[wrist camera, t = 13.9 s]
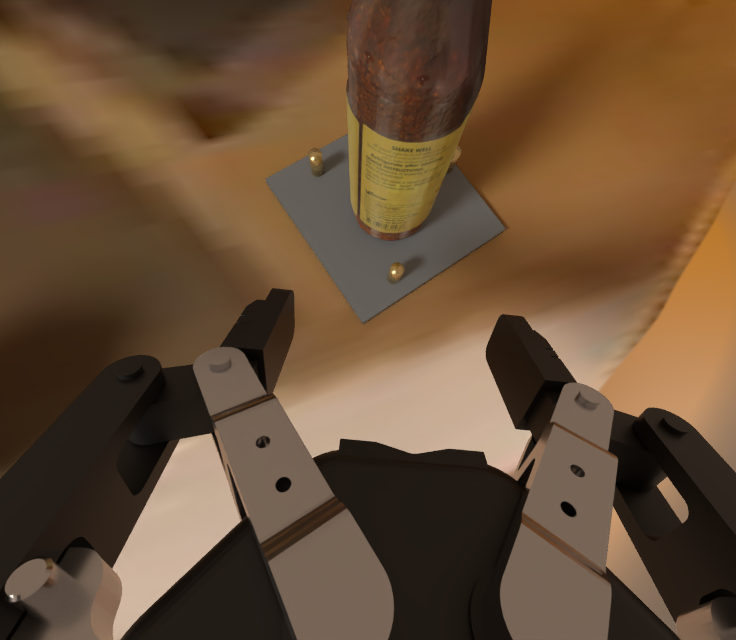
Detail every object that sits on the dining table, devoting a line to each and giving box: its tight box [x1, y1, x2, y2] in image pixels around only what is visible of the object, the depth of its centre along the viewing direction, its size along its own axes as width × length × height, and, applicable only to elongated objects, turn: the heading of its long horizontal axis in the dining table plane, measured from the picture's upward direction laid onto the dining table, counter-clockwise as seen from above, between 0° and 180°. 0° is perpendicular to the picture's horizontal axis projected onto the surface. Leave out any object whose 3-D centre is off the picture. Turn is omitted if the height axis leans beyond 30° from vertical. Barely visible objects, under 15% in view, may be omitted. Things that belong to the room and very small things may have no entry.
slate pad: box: [265, 134, 506, 324], centre depth 26 cm, size 14×14×1 cm
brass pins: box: [308, 146, 461, 284], centre depth 25 cm, size 12×10×2 cm
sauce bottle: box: [346, 0, 492, 241], centre depth 16 cm, size 7×6×20 cm
